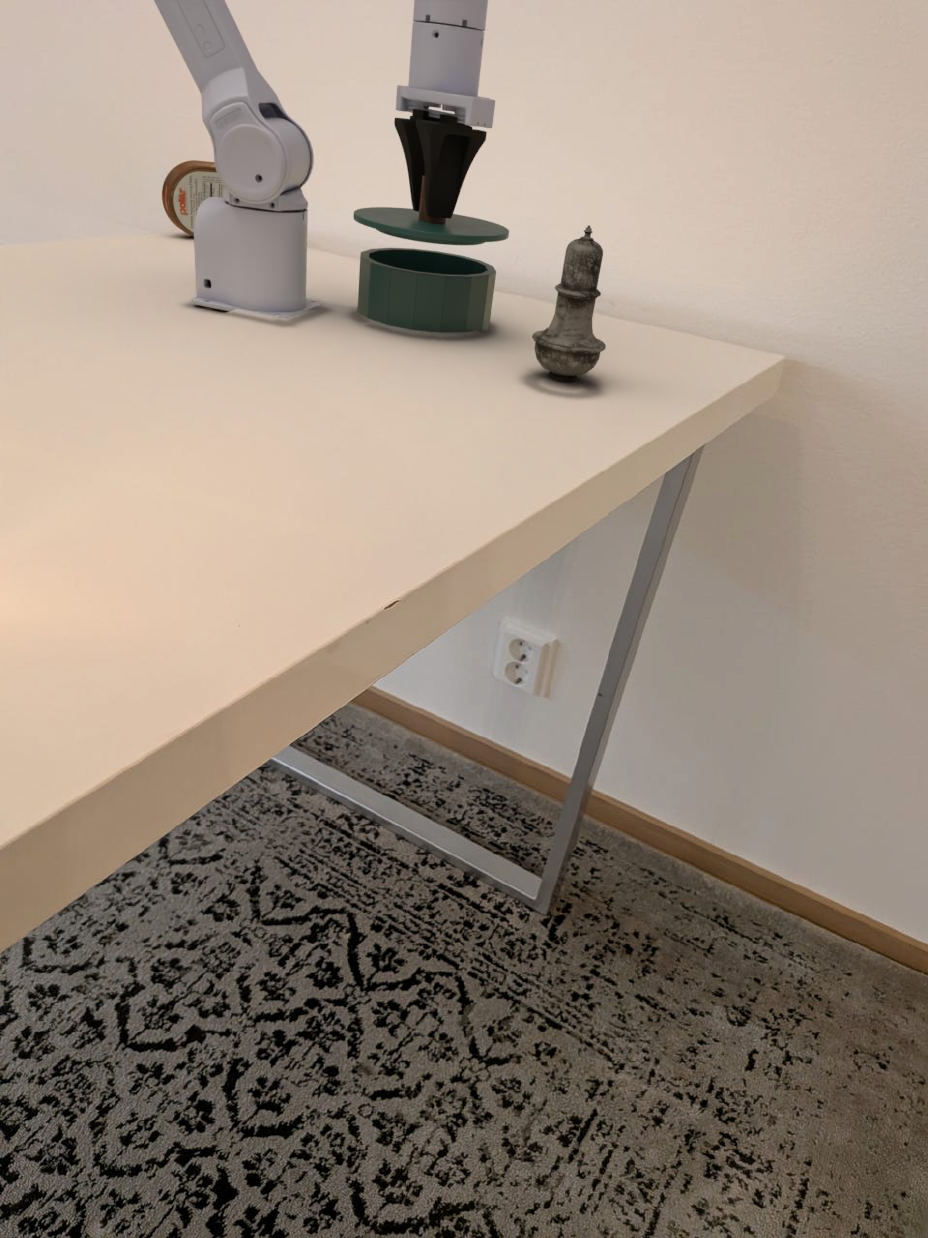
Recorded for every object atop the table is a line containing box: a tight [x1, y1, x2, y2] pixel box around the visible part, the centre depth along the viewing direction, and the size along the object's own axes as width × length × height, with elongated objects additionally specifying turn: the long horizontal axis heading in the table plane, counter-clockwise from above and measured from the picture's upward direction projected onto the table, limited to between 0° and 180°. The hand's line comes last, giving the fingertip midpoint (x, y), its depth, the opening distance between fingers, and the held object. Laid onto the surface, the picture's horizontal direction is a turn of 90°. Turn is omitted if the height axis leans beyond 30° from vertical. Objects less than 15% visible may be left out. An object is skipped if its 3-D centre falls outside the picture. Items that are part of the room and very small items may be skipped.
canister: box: [357, 247, 497, 334], centre depth 83 cm, size 13×13×5 cm
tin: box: [161, 159, 226, 237], centre depth 108 cm, size 15×3×8 cm, turn 119°
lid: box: [353, 174, 510, 246], centre depth 76 cm, size 14×14×5 cm
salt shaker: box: [531, 225, 607, 383], centre depth 68 cm, size 6×6×12 cm
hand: (432, 214), depth 76 cm, fingers closed on lid, 2 cm apart
